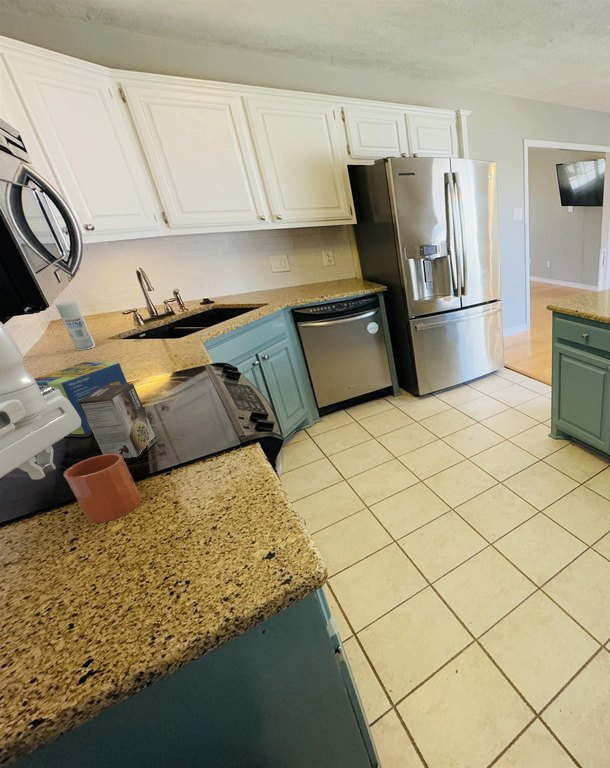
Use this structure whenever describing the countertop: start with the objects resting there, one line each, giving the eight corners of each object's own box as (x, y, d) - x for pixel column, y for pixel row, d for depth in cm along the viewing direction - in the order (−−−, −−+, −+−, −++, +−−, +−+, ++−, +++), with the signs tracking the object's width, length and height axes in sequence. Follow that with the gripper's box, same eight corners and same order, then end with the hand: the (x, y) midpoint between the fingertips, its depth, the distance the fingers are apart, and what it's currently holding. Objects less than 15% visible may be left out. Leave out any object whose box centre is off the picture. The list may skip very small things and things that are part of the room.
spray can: (75, 351, 174) (53, 305, 166) (77, 348, 179) (56, 303, 171) (95, 348, 178) (76, 303, 170) (97, 345, 183) (77, 301, 175)
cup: (76, 526, 74) (51, 480, 70) (105, 499, 81) (83, 456, 77) (126, 519, 76) (104, 474, 72) (150, 493, 83) (131, 451, 79)
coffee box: (127, 445, 100) (101, 385, 94) (158, 441, 102) (134, 382, 96) (106, 465, 92) (75, 401, 86) (140, 460, 94) (112, 397, 88)
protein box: (48, 438, 105) (19, 382, 99) (107, 411, 119) (84, 361, 113) (86, 438, 104) (59, 383, 98) (141, 411, 118) (120, 361, 112)
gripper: (34, 384, 77) (67, 447, 82) (-85, 437, 58) (-32, 514, 63) (74, 380, 78) (104, 443, 83) (-30, 431, 59) (17, 507, 65)
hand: (44, 474), depth 73 cm, fingers closed
